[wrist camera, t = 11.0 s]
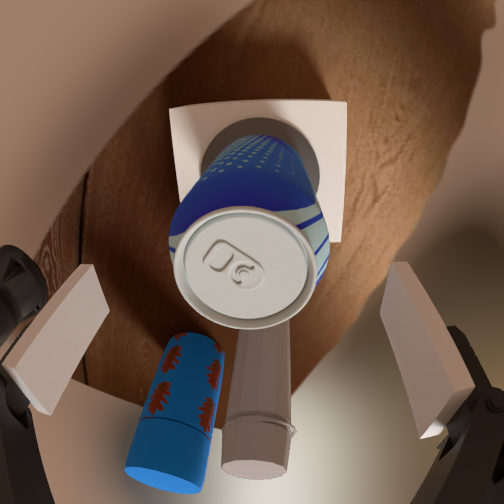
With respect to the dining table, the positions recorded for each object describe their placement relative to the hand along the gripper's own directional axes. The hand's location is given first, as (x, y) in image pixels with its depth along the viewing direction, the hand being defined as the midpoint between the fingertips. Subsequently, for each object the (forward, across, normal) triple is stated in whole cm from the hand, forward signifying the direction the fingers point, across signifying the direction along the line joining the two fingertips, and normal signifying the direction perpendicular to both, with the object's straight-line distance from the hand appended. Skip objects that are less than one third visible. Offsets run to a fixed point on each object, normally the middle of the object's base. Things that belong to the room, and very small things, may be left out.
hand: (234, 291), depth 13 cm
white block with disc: (+26, 0, 0) cm, 26 cm away
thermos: (+26, -13, -33) cm, 44 cm away
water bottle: (+26, 0, -24) cm, 35 cm away
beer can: (+17, 0, 0) cm, 17 cm away
